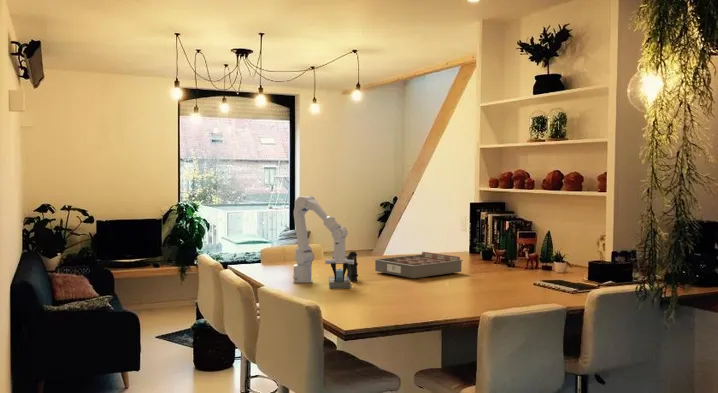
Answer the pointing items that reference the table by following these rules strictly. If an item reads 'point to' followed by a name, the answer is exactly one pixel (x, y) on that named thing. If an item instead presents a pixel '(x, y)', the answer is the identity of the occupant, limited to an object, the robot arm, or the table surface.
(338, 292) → the table surface
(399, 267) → the organizer tray
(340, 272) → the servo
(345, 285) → the chassis
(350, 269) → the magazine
